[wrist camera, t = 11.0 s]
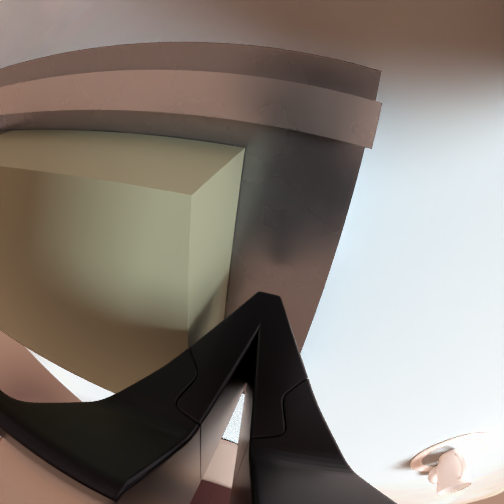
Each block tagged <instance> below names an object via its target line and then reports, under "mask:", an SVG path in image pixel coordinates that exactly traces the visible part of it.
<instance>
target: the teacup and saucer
mask: <svg viewBox="0 0 504 504" xmlns="http://www.w3.org/2000/svg"><path fill="white" fill-rule="evenodd" d="M465 439H479V440H480V441H481V445H480V447H479V448H478V449H477V450H476V451H475V452H473V453H472V454H470V455H469V456H467V457H466V455H465V453H464V452H463V450H462V449H453V450H450V451H447V452H445V453H443V454H442V455H441V456H440V458H439V461H438V465H437V466H426V465H423V464H422V459H423V458H424V457H425V456H426V455H428V454H429V453H431V452H432V451H434V450H436V449H438V448H440V447H442V446H445V445H448V444H450V443H453V442H457V441H461V440H465ZM492 439H493V437H492V435H491V434H489V433H484V432H479V433H471V434H466V435H462V436H459V437H455V438H452V439H449V440H446V441H444V442H441V443H439V444H436V445H434V446H432V447H430V448H428V449H426V450H424V451H423V452H421V453H419V454H418V455H417V456H415V457H414V458H413V459H412V460H411V462H410V467H411V468H412V469H413V470H416V471H423V472H428V471H430V472H429V475H428V480H429V482H431V483H433V484H437V494H438V495H445V494H450V493H454V492H457V491H460V490H462V489H464V488H466V487H468V486H469V485H471V483H472V481H471V475H470V469H469V465H468V460H470V459H472V458H474V457H476V456H477V455H479V454H480V453H482V452H483V451H484V450H485V449H486V448H487V447H488V446H489V445H490V444H491V442H492Z"/></svg>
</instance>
